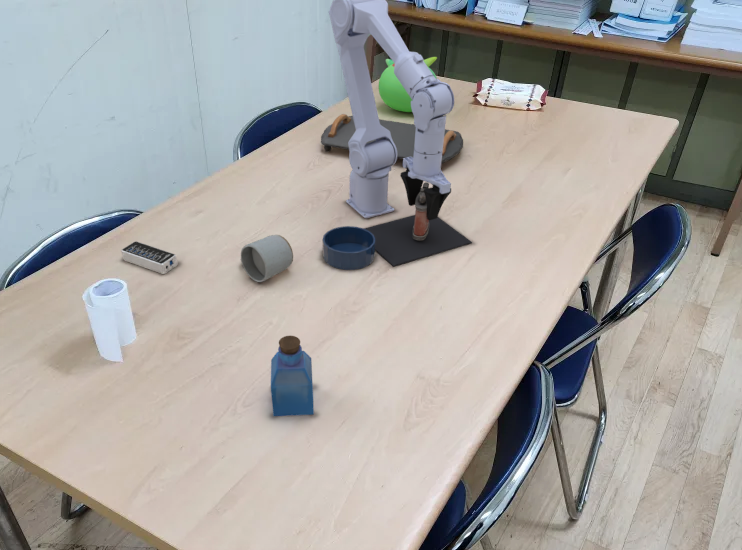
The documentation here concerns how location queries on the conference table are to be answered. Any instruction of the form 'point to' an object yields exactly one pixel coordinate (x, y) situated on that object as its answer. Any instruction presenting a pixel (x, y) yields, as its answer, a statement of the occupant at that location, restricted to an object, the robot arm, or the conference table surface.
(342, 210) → the conference table surface
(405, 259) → the desk mat
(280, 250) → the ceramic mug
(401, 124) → the serving tray
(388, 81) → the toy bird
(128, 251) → the multiport hub
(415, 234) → the lighter
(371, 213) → the robot arm
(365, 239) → the blue round dish
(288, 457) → the conference table surface
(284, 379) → the perfume bottle
